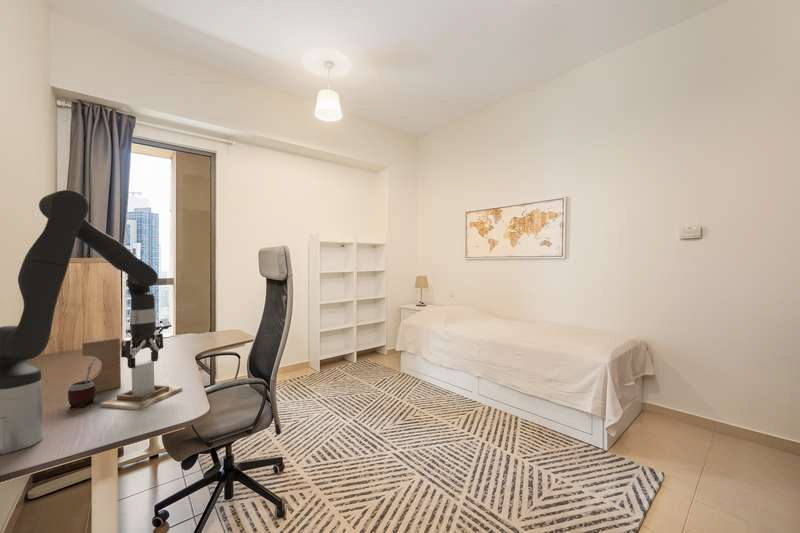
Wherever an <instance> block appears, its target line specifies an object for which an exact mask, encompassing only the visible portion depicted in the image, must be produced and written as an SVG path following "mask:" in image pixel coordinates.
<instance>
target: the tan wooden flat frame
mask: <svg viewBox="0 0 800 533" xmlns="http://www.w3.org/2000/svg"><path fill="white" fill-rule="evenodd" d="M154 386H155V391H154V392H151V393H149V394H147V395H144V396H133V395H132V389H130V390H128V391H125V392H122V393H119V394H117V395H116V397H113V398H111V399H109V400H106V401H104V402H100V407H101V408H110V409H111V408H113V409H121V410H122V409H123V410H132V411H139V410H142V409H144V408H146V407H148V406H150V405H152V404H155V403H157V402H159V401H162V400H163V399H166V398H168V397H171V396H172V395H175V394H177V393H179V392H181V391H182V392H183V387H182V386H173V385H159V384H158V385H157V384H154Z"/></svg>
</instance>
